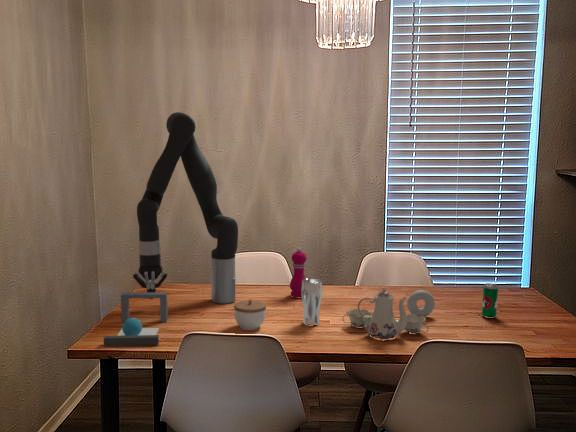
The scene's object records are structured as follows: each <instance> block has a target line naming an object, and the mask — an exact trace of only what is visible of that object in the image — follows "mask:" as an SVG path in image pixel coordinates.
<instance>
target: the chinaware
mask: <svg viewBox="0 0 576 432" xmlns="http://www.w3.org/2000/svg"><path fill="white" fill-rule="evenodd" d="M394 298H395V296H394V295H393V294H390V293H389V292H388V290H387V289H386V288H385V287H383V288H382V289H381V291H379V292H378V293H376V294H373V297H369V296H367V297H362V298H361V299H360V300H359V301H358V303H357V308H352V309H350V310H349V311H348V310H347V311H346V314H344V315H343V316H342V322H343V323H344V324H350V327H351V326H352V325H353V326H354V327H355V326H357V327H365V330H366V332H368V333H369V335H371V336H372V337H375V338H380V339H389V338H394V337H395V336H396V337H397V335H399V334H400V333H402V332H403V331H404V330H405V331H406V332H411V333H424V334H426V333H428V331H429V325H428V324H427V323H426V322H427V320H426V317H424V316H419V317H418V316H417V315H415V314H411V313H409V314H407V313H406V309H405V305H404V302H405V301H406V300H407V297H401V299H400V300H399V303H398V310H399V311H398V314H399V318H398V319H396V318H395V314H394V309H393V304H394V303H393V302H394ZM366 300H369V303H370V304H373V303H374V309H373V312H372V311H370V310H369V309H365V308H364V309H361V307H360V305H361V303H362V302H363V301H366ZM344 317H348V318H349V321H350V322H346V321H344V320H345V319H344ZM353 326H352V327H353ZM424 326H426V328H427V330H426V331H423V330H422V329H423V327H424Z"/></svg>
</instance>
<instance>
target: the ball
mask: <svg viewBox="0 0 576 432" xmlns="http://www.w3.org/2000/svg"><path fill="white" fill-rule="evenodd" d="M142 328H143V324H142V322H141V321H140V320H139V319H138V318H136V317H129V319H127V320H126V321H125V322H124V323H122V326H121V329H122V330H123V333H124V334H125V335H126V336H132V335H139V334H140V332H141V330H142Z"/></svg>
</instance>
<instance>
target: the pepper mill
mask: <svg viewBox="0 0 576 432" xmlns="http://www.w3.org/2000/svg"><path fill="white" fill-rule="evenodd" d="M307 259H308V258H307V255H306V253H305V252H303V251H302V248H301V247H297V249H296V251H294V252H293V253H292V255H291V261H292V262H293V263H292V268H293V274H292V278H291V280H290V282H289V288H290V290H291V291H290V297H291V296H293V297H302V280H304V279H307V278H306V276H305V268H306V263H305V262H307ZM293 297H292V298H293Z"/></svg>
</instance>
